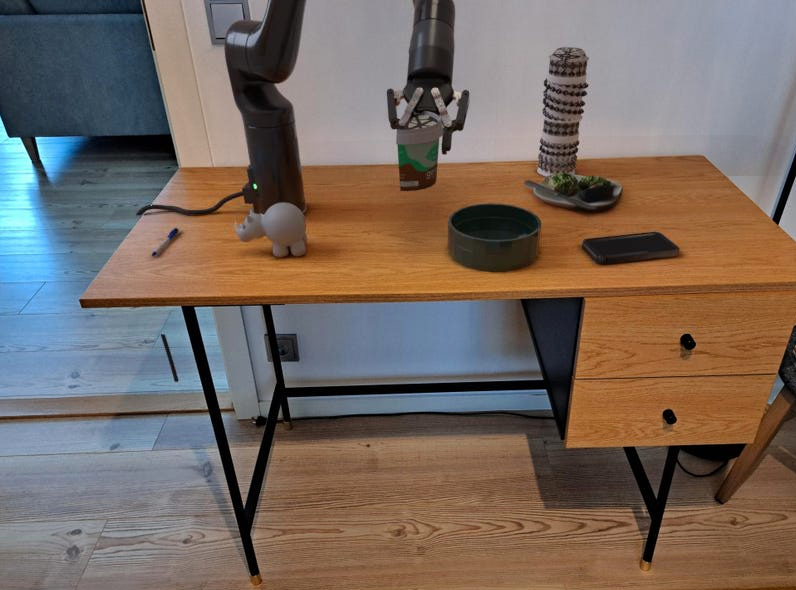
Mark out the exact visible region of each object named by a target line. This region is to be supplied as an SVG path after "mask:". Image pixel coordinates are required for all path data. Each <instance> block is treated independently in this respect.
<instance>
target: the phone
mask: <svg viewBox="0 0 796 590" xmlns="http://www.w3.org/2000/svg"><path fill="white" fill-rule="evenodd" d="M581 248H582V249H583V250H584V251H585V253H586V254H588V255H589V256H590V258H591V259H592V260H593V261H594V262H595V263H597V264H599V265H609V264H619V263H628V262H629V263H630V262H638V261H645V260H654V259H656V260H657V259H665V258H673V257H677V256H678V255H679V251H680V247H679V246H678V245H677V244H675V243H674V242H673V241H672V240H671V239H669V238H668V237H667V236H666V235H664V234H663V233H662V232H659V231H648V232H647V231H646V232H637V233H629V234H619V235H618V234H617V235H608V236H600V237H591V238H584V239H582V244H581Z"/></svg>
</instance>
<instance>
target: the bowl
mask: <svg viewBox="0 0 796 590" xmlns="http://www.w3.org/2000/svg"><path fill="white" fill-rule="evenodd" d="M541 232H542V220H541V218H540V217H539V216H538V214H535V213H534V212H532V211H531V210H529V209H526V208H524V207H521V206H517V205H512V204H506V203H494V202H493V203H489V202H488V203H477V204H476V203H475V204H472V205H467V206H464V207H461V208H458V209H457V210H455V211H453V212H452V213H451V214H450V215H449V216H448V219H447V250H448V254H449V257H451V259H452V260H453V261H455V262H456V263H457V264H459V265H461V266H464V267H467V268H470V269H472V270H477V271H484V272H497V273H498V272H509V271H515V270H519V269H522V268H525V267H527V266H528V265H529V266H530V264H532V263H533V262H534V261H535V260H536V258H537V257H538V253H539V250H540V243H541Z"/></svg>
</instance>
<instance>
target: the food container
mask: <svg viewBox="0 0 796 590" xmlns="http://www.w3.org/2000/svg"><path fill="white" fill-rule="evenodd" d="M443 133H444V131H443V125H442V122H441V120H440V117H439V116H438V115H437V114H435V113H432V112H429V111H424V112H422V113H419V114H418V113H415V112H414V116H412V118H411V119H410V120H409V121H407V122H406V123H405V125H404V127H403V129H402V130H397V129H396V135H395V136H396V137H395V141H396V142H395V144H396V145H397V157H398V158H397V159H398V161H397V162H398V177H399V178H398V179H399V191H400V192H416V191H422V190H426V189H429V188H431V187H433V186H435V184H436V183H437V176H438V163H439V162H438V161H439V149H440V138H442V135H443Z"/></svg>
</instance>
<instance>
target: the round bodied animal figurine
mask: <svg viewBox="0 0 796 590" xmlns="http://www.w3.org/2000/svg"><path fill="white" fill-rule="evenodd" d="M233 227H234V229H235V231H236V235H237V237H238V239H239V240H240V241H241V242H243V243H249V242H252V240H254V239H255V240H259V239H263V238H264V237H266V238H267V239H268V240H269V241H271V243H272V254H273V256H274V257H277V258H285V257H286V256H288V255H289V249H290V253H291V254H292V255H293V256H294V257H300V256H303V255H305V254H306V253H307V247H306V245H307V242H308V236H307V233H306V230H307V221H306V216H305V214H303V213H302V212H301V210H300V209H299V208H297V207H296V206H294V205H292V204H290V203H277V204H275V205H273V206H271V207H270V208H269V209H268V210H267V211H266V213H265V214H264V215H259V214H255V213H254V209H253V207H252V208H251V207H249V214H247V215H245V219H244V221H243V224H242V223H240V224H239V225H238V223H237V221H235V222H234V226H233Z"/></svg>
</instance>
